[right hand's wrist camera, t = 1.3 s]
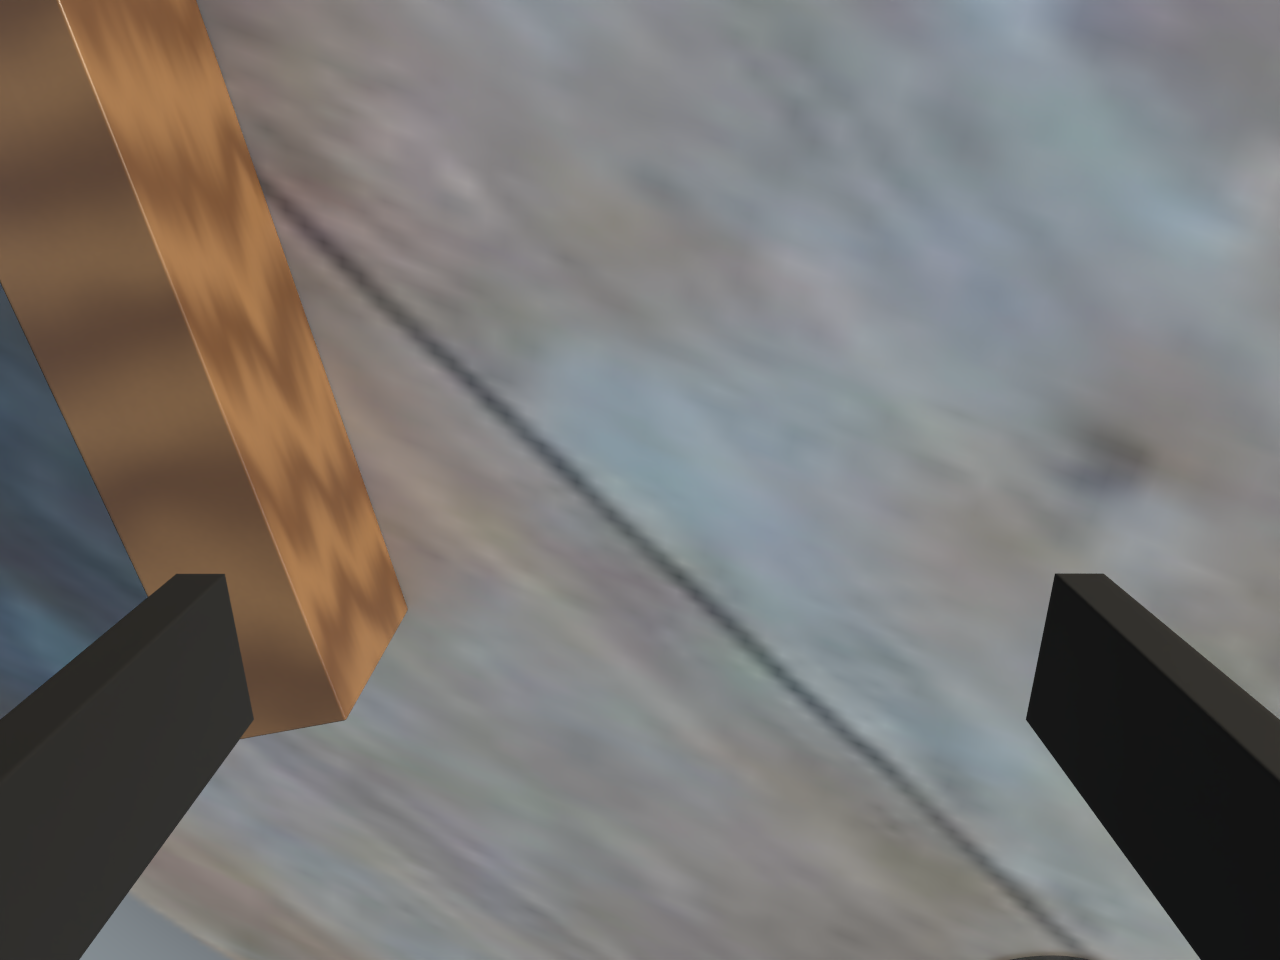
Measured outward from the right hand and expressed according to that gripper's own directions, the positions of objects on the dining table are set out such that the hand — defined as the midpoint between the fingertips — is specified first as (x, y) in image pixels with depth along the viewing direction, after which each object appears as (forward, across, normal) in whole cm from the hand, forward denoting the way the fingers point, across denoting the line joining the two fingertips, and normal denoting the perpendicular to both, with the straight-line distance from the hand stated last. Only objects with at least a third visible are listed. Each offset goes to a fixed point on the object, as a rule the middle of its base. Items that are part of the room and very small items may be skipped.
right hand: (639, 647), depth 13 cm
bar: (+20, +15, -2) cm, 25 cm away
